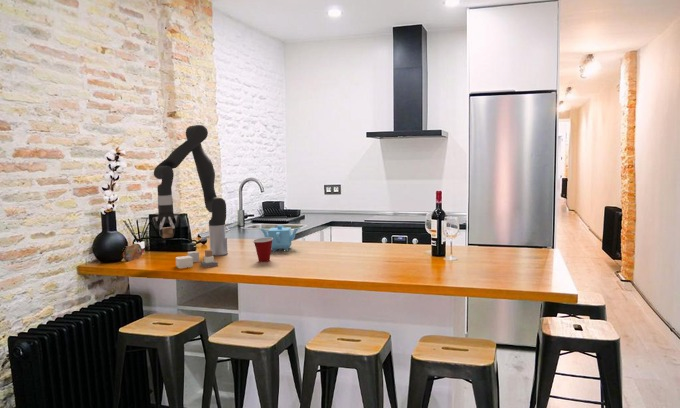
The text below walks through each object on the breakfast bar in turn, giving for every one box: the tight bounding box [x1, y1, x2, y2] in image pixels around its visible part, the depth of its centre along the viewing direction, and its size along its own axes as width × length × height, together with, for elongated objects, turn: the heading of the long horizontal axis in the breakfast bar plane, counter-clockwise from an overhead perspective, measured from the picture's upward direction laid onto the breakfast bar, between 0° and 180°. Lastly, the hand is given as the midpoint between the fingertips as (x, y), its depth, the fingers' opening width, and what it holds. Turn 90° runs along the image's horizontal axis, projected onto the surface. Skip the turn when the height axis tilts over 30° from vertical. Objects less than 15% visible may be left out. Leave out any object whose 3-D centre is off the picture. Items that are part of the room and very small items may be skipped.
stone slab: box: [122, 243, 143, 262], centre depth 287 cm, size 15×3×8 cm, turn 168°
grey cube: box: [186, 250, 200, 263], centre depth 277 cm, size 5×5×5 cm
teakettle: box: [259, 224, 301, 252], centre depth 306 cm, size 19×19×15 cm
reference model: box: [200, 249, 219, 269], centre depth 263 cm, size 7×7×8 cm
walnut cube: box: [161, 226, 174, 239], centre depth 269 cm, size 5×5×5 cm
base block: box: [175, 255, 194, 270], centre depth 263 cm, size 7×7×5 cm
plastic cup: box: [252, 236, 273, 263], centre depth 272 cm, size 11×11×12 cm
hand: (167, 235), depth 269 cm, fingers closed on walnut cube, 5 cm apart
